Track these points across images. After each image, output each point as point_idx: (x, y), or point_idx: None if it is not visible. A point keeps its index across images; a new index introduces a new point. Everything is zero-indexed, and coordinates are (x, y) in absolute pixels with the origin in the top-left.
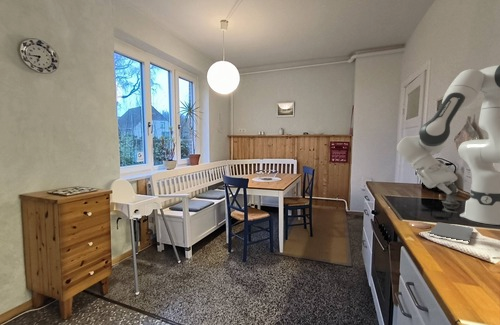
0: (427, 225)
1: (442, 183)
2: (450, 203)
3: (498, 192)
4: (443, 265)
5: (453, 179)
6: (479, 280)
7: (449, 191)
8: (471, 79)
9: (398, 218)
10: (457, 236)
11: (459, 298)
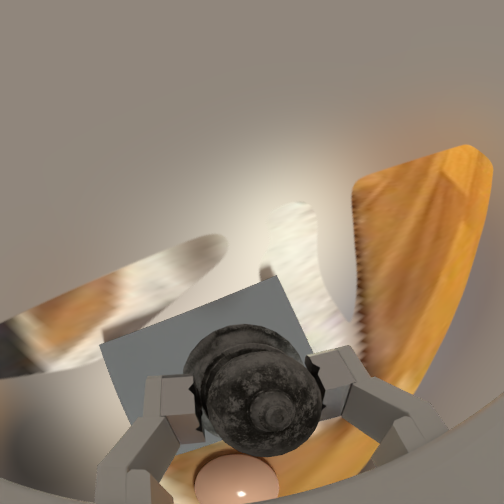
0: (218, 468)
1: (429, 435)
2: (294, 358)
3: None
4: (447, 232)
5: (43, 494)
6: (429, 175)
7: (353, 360)
8: None
9: None
10: (267, 321)
11: (479, 174)
